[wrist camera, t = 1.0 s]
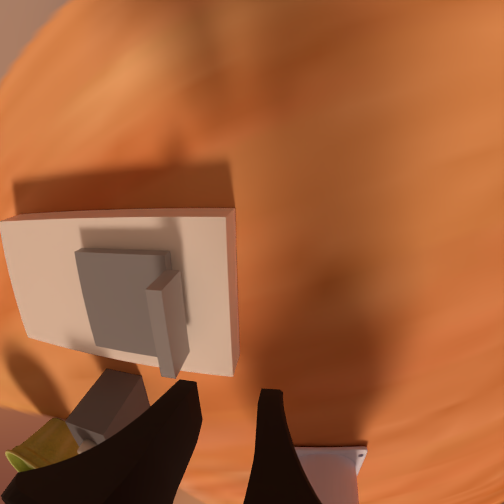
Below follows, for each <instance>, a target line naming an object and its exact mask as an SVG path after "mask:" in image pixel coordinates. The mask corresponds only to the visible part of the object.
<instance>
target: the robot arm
mask: <svg viewBox="0 0 504 504" xmlns="http://www.w3.org/2000/svg"><path fill="white" fill-rule="evenodd" d="M201 424H202V414H201V408H200V402H199V396H198V389H197V383H196V382H194V381H187V380H179V381H177V382H176V383H175V384H174V385H173V386H172V387H171V388H170V389H169V390H168V391H167V392H166V393H165V394H164V395H163V396H162V397H160V398H159V399H158V400H157V401H156V402H155V403H154V404H153V405H152V406H150V407H149V408H148V409H147V410H146V411H145V412H143V413H142V414H141V415H140V416H139V417H137V418H136V419H135V420H134V421H132V422H131V423H130V424H128V425H127V426H126V427H124V428H123V429H122V430H120V431H119V432H117V433H116V434H114V435H113V436H111V437H110V438H108V439H107V440H105V441H103V442H102V443H100V444H98V445H96V446H94V447H92V448H90V449H88V450H86V451H84V452H82V453H80V454H78V455H76V456H74V457H71V458H69V459H66V460H63V461H61V462H58V463H55V464H51V465H48V466H45V467H41V468H36V469H32V470H27V471H23V472H18V473H17V474H16V476H15V477H14V478H13V480H12V481H11V483H10V484H9V485H8V487H7V488H6V489H5V491H4V492H3V494H2V495H1V497H2V500H3V501H4V502H5V504H173V500H174V497H175V495H176V492H177V489H178V487H179V484H180V482H181V480H182V477H183V475H184V473H185V470H186V468H187V465H188V463H189V461H190V458H191V456H192V453H193V451H194V448H195V446H196V443H197V440H198V436H199V432H200V428H201ZM366 454H367V447H365V446H359V447H294V445H293V442H292V439H291V436H290V432H289V429H288V425H287V422H286V417H285V412H284V406H283V392H282V391H281V390H277V389H261V393H260V397H259V401H258V409H257V425H256V440H255V453H254V460H253V465H252V470H251V474H250V479H249V483H248V487H247V491H246V495H245V499H244V503H243V504H359V500H358V487H357V475H358V473H359V470H360V468H361V466H362V463H363V461H364V459H365V456H366Z"/></svg>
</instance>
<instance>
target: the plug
mask: <svg viewBox="0 0 504 504" xmlns="http://www.w3.org/2000/svg"><path fill="white" fill-rule="evenodd" d="M149 407H150V404H149V401H148V397H147V394H146V390H145V386H144V383H143V379H142V376H140V375H135V374H130V373H125V372H120V371H116V370H111V369H106V370H105V371H104V372H103V374H102V375H101V376H100V377H99V379H98V380H97V381H96V382H95V384H94V385H93V386H92V387H91V389H90V390H89V391H88V392H87V394H86V395H85V396H84V397H83V399H82V400H81V401H80V402H79V404H78V405H77V406H76V408H75V409H74V410H73V411H72V413H71V414H70V415H69V417H68V418H67V419H66V420H65V422H66V424H67V426H68V428H69V430H70V432H71V434H72V435H73V437H74V439H75V441H76V442H77V444H78V446H79V448H78V450H77V453H78V454H80V453H82V452H84V451H86V450H88V449H90V448H92V447H94V446H96V445H98V444H100V443H102V442H103V441H105V440H107V439H108V438H110V437H111V436H113V435H114V434H116V433H117V432H119V431H120V430H122V429H123V428H124V427H126V426H127V425H128V424H130V423H131V422H132V421H134V420H135V419H136V418H137V417H139V416H140V415H141V414H142V413H143V412H145V411H146V410H147V409H148V408H149Z"/></svg>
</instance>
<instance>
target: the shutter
mask: <svg viewBox="0 0 504 504" xmlns="http://www.w3.org/2000/svg"><path fill="white" fill-rule="evenodd" d="M74 253H75V259H76V265H77V270H78V275H79V280H80V285H81V289H82V294H83V298H84V303H85V307H86V311H87V315H88V319H89V323H90V327H91V331H92V334H93V338H94V341H95V345H96V346H99V347H103V348H108V349H113V350H119V351H124V352H130V353H135V354H141V355H147V356H153V357H157V358H158V363H159V368H160V372H161V376H162V377H168V378H175V379H176V377H177V375H178V373H179V371H180V369H181V368H182V366H183V364H184V362H185V360H186V358H187V356H188V354H189V352H190V349H189V342H188V334H187V326H186V318H185V309H184V300H183V291H182V281H181V271H180V270H172V264H171V253H170V251H164V250H134V249H104V248H80V249H79V250H77V251H75V252H74Z"/></svg>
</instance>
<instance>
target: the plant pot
mask: <svg viewBox="0 0 504 504" xmlns="http://www.w3.org/2000/svg"><path fill="white" fill-rule="evenodd" d="M78 448H79V446H78V444H77V442H76V441H75V439H74V437H73V435H72V434H71V432H70V430H69V428H68V426H67V424H66V422H65V421H63V420H61V419H58V418H52V419H51V420H49V421H48V422H47V423H46V424H45V425H44V426H43V427H41V428H40V429H39V430H38V431H37V432H35V433H34V434H33V435H32V436H31V437H29V438H28V439H27V440H26V441H25V442H23V443H22V444H21V445H19V446H16V447H15V448H13V449H12V450H7V451H6V452H5V455H6V457H7V459H8V460H9V462H10V463H11V464H12V466H13V467H14V468H15V469H16V470H17V471H18V472H23V471H27V470H32V469H36V468H41V467H45V466H48V465H51V464H55V463H58V462H61V461H63V460H66V459H69V458H71V457H74V456H76V455H78V453H77V450H78Z"/></svg>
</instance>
